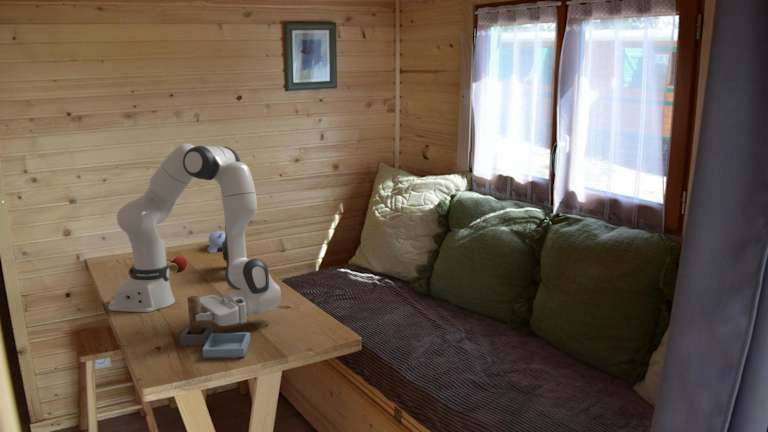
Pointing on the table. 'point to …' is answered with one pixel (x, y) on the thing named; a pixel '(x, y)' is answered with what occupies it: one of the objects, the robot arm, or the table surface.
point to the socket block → (195, 336)
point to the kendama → (176, 264)
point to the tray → (226, 345)
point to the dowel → (194, 309)
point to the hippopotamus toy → (216, 241)
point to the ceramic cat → (224, 250)
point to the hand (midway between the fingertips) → (192, 315)
